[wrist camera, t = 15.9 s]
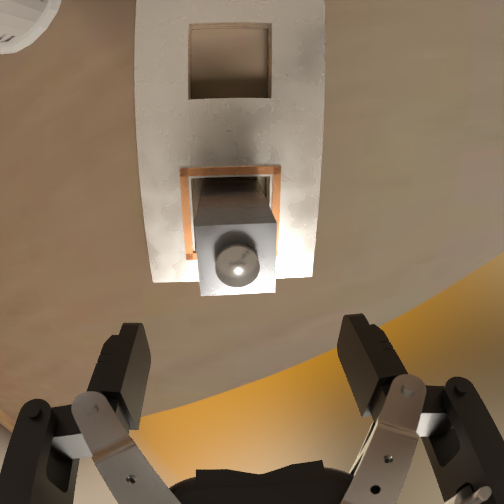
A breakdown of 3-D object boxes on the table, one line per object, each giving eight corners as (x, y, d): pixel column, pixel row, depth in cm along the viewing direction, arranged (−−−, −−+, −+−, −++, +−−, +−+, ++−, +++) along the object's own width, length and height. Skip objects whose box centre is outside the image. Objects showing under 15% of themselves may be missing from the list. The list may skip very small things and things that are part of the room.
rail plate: (142, 3, 18) (136, -5, 16) (317, 2, 19) (325, -6, 18) (156, 271, 29) (152, 283, 27) (306, 265, 30) (312, 277, 28)
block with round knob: (203, 181, 26) (193, 232, 16) (257, 179, 26) (279, 228, 16) (206, 230, 28) (200, 303, 18) (257, 228, 28) (277, 299, 18)
